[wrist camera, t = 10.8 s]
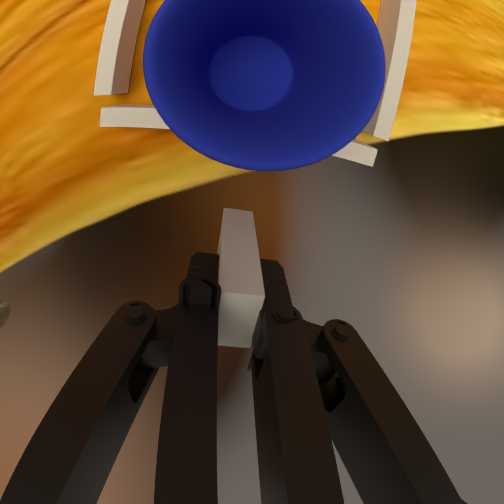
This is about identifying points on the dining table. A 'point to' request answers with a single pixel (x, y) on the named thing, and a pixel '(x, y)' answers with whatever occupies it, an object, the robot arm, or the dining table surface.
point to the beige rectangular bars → (146, 116)
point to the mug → (264, 77)
